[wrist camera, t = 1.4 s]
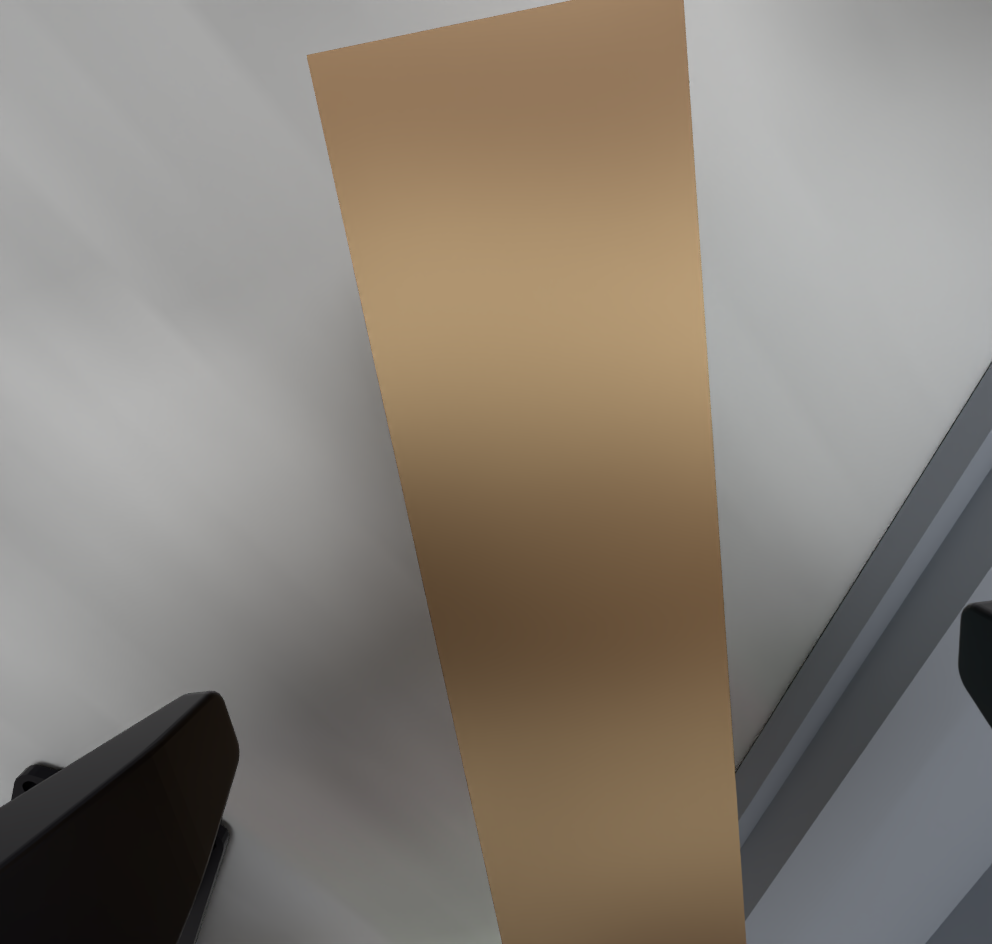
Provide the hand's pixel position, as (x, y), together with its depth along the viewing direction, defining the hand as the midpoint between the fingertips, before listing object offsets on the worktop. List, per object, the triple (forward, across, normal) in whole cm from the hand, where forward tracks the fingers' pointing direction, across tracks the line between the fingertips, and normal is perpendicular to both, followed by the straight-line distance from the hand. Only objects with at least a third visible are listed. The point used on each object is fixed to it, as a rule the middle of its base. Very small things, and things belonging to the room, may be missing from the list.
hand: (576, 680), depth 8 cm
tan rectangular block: (+9, 0, 0) cm, 9 cm away
